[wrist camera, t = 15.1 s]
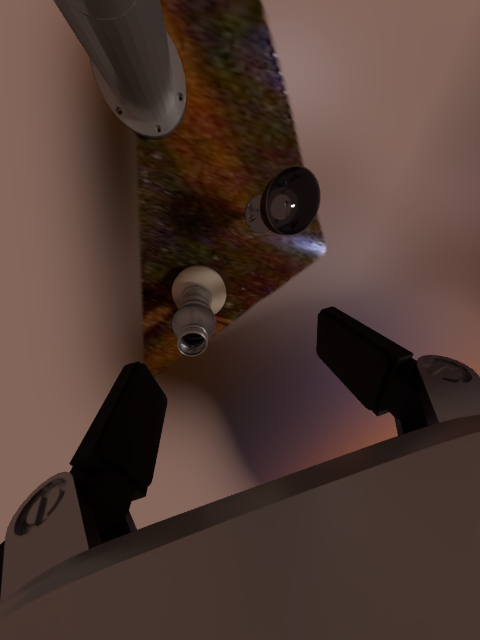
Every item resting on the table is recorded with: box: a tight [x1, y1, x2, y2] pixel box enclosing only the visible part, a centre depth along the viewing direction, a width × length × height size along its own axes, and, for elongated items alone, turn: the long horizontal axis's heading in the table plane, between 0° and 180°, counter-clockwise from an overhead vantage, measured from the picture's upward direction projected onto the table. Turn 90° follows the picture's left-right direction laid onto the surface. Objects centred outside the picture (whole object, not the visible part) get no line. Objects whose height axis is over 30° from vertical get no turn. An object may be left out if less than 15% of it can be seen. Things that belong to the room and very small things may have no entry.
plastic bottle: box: [172, 283, 216, 356], centre depth 30 cm, size 6×7×20 cm
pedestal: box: [172, 265, 226, 314], centre depth 40 cm, size 12×12×3 cm
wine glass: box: [245, 166, 320, 235], centre depth 30 cm, size 8×8×15 cm
